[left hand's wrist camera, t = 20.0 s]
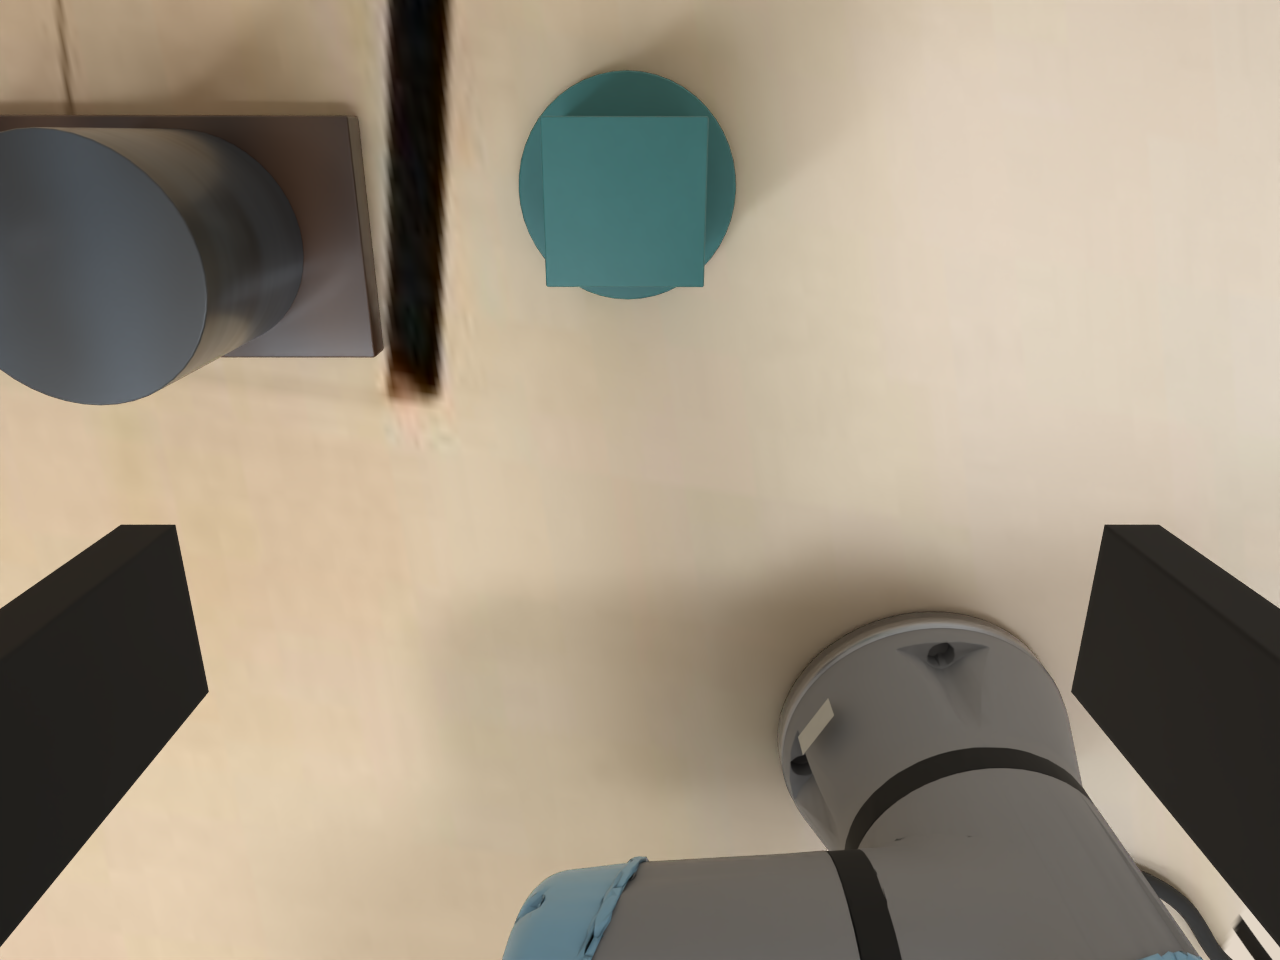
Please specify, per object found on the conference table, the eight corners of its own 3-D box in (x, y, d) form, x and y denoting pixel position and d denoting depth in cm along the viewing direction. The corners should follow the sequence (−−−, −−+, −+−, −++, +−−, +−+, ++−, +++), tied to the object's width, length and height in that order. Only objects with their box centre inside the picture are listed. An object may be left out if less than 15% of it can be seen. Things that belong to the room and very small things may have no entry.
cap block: (738, 72, 36) (768, 53, 27) (729, 295, 39) (754, 339, 31) (516, 71, 36) (479, 52, 27) (526, 295, 39) (496, 339, 31)
